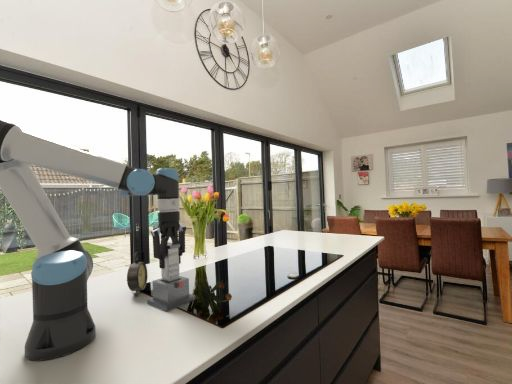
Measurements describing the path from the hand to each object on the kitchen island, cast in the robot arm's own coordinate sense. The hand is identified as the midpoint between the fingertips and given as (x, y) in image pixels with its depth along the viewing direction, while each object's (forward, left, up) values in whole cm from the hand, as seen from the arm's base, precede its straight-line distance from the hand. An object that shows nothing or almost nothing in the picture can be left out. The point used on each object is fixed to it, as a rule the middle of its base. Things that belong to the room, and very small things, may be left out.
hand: (170, 275), depth 96 cm
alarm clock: (-2, +20, -10) cm, 22 cm away
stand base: (0, 0, -10) cm, 10 cm away
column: (0, 0, -8) cm, 8 cm away
